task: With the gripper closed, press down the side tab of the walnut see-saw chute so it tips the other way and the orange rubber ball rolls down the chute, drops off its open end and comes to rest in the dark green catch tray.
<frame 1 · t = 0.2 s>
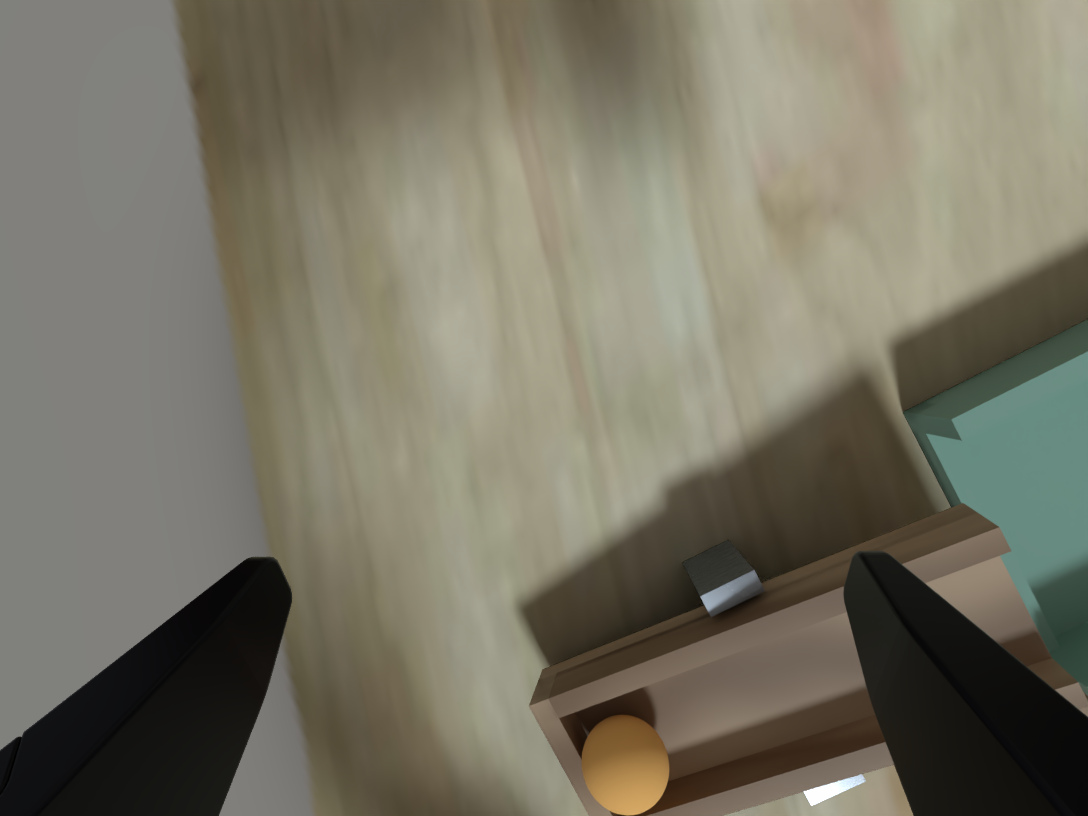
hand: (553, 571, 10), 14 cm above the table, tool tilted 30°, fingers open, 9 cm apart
ball: (625, 763, 21), point 3 cm above the table, tilted 7°, touching chute
fulcrum: (753, 642, 24), on the table
chute: (823, 758, 21), point 3 cm above the table, hinge at -10.0°, touching ball
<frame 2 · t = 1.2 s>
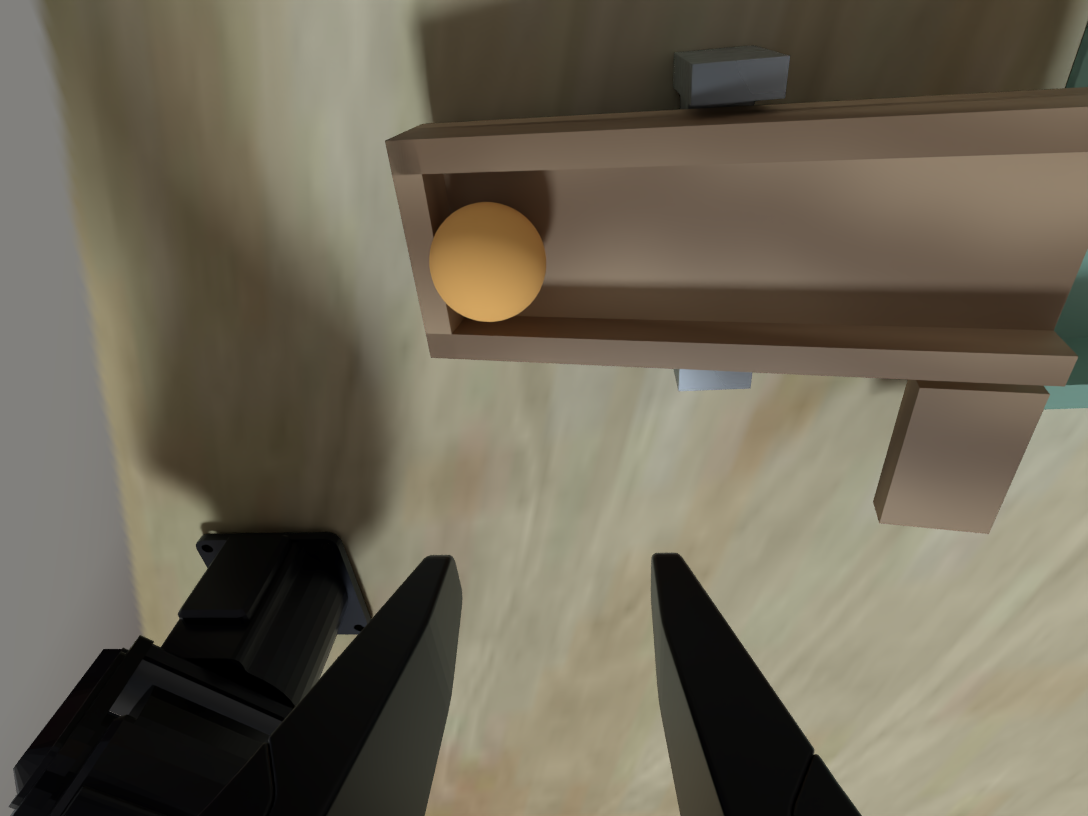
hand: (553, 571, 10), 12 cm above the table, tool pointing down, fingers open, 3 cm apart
ball: (488, 263, 16), point 3 cm above the table, tilted 7°, touching chute
fulcrum: (703, 209, 18), on the table
chute: (719, 350, 17), point 3 cm above the table, hinge at -10.0°, touching ball
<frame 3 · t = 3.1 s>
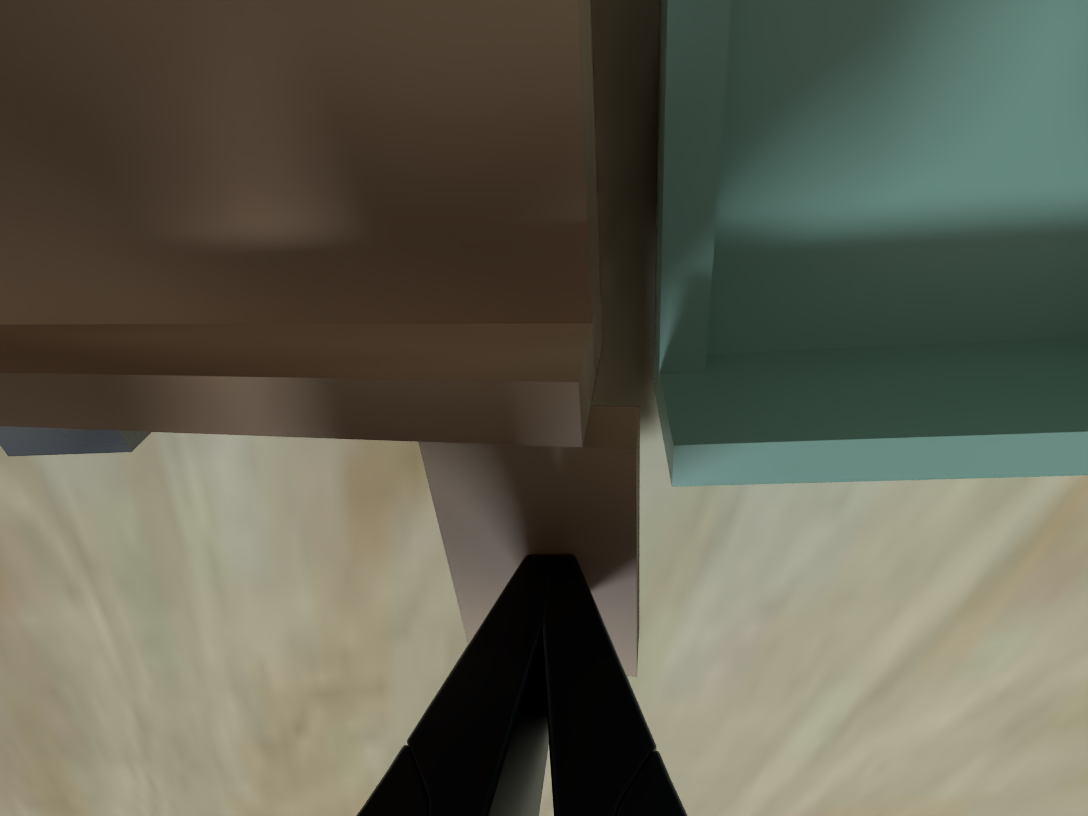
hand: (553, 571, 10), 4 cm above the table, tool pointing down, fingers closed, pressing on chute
fulcrum: (91, 117, 10), on the table
tray: (1022, 33, 9), on the table
chute: (57, 379, 9), point 3 cm above the table, hinge at -6.5°, touching ball, gripper
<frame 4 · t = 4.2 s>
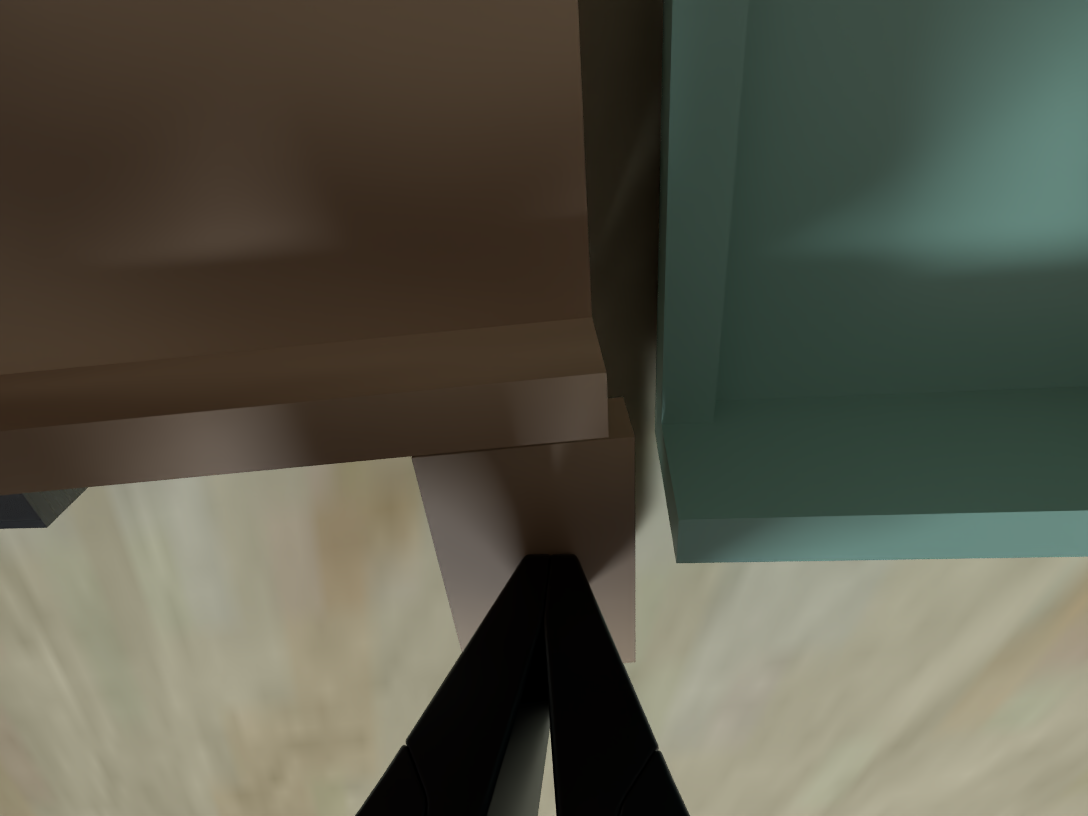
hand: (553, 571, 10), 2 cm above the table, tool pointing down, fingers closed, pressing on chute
fulcrum: (7, 136, 9), on the table
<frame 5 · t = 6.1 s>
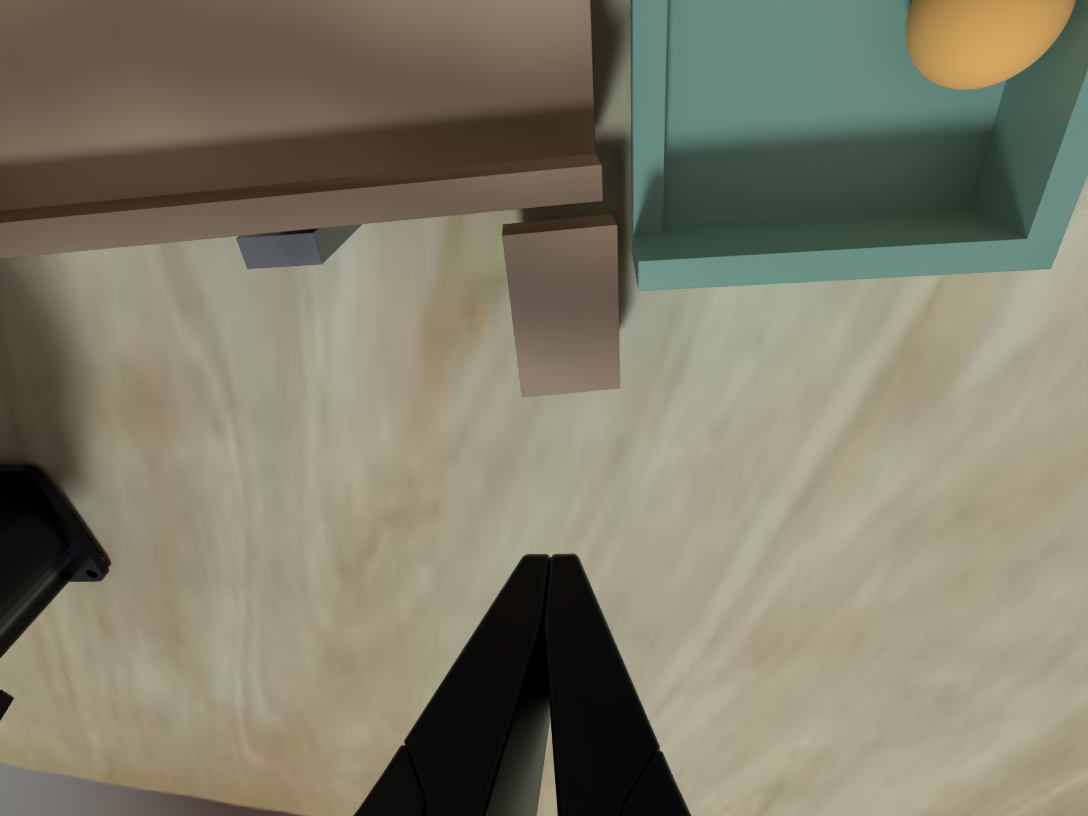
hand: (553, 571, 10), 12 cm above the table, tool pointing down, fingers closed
ball: (986, 11, 13), point 2 cm above the table, tilted 152°, touching tray
fulcrum: (289, 71, 16), on the table
tray: (837, 20, 15), on the table
chute: (288, 218, 15), point 3 cm above the table, hinge at 5.8°
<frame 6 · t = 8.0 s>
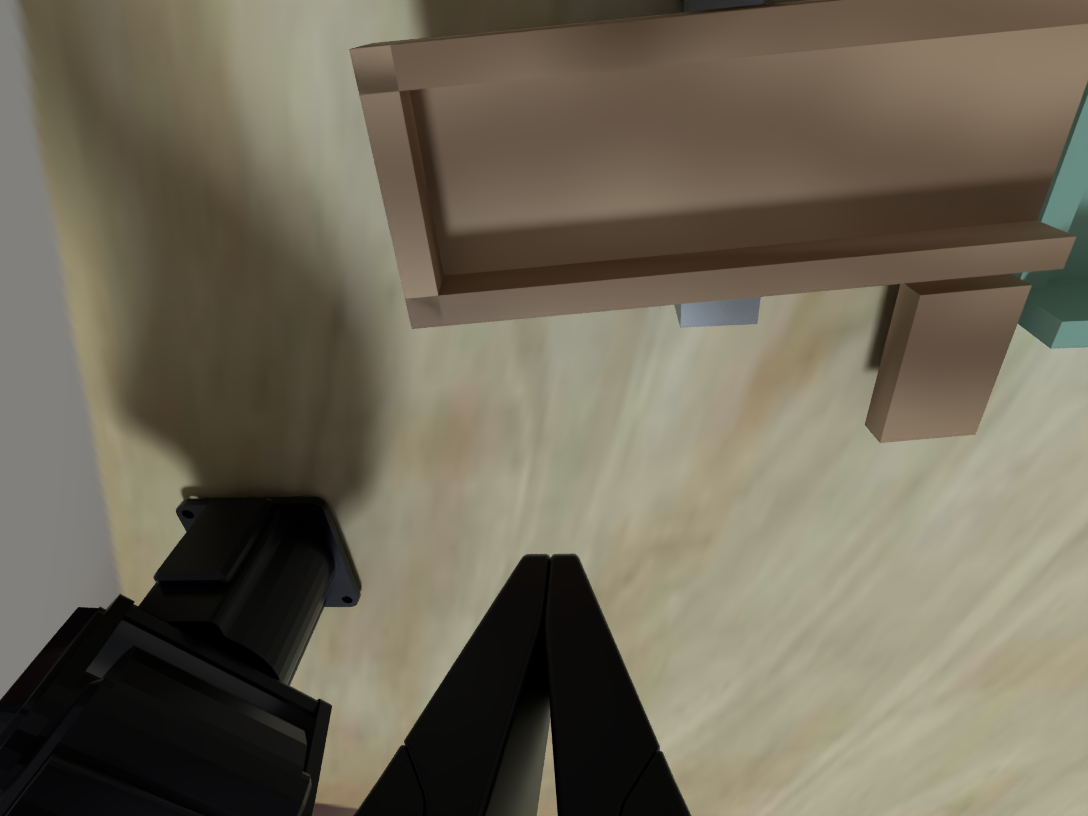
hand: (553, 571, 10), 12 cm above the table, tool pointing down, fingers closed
fulcrum: (707, 135, 17), on the table
chute: (731, 280, 16), point 3 cm above the table, hinge at 5.8°
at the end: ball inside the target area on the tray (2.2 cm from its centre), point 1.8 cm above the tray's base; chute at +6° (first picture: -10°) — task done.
